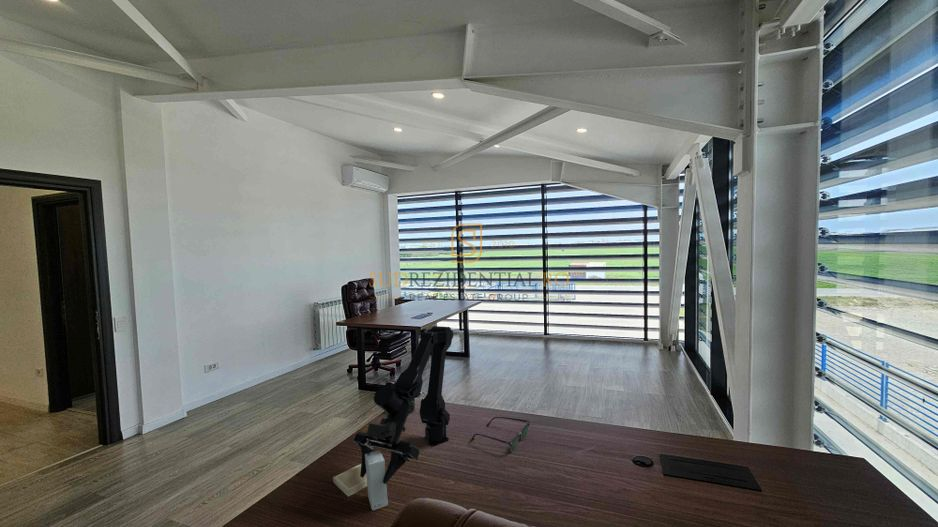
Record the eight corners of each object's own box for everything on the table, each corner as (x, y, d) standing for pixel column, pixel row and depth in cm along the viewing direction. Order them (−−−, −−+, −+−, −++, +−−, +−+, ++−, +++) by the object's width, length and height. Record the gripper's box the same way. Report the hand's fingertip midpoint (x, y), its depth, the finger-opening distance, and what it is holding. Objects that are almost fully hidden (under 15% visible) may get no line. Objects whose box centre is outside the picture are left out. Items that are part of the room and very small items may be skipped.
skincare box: (388, 505, 93) (386, 460, 93) (371, 511, 91) (368, 465, 91) (383, 491, 98) (381, 448, 98) (366, 497, 97) (364, 453, 96)
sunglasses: (489, 423, 136) (489, 410, 136) (531, 434, 127) (531, 420, 127) (466, 444, 122) (466, 430, 122) (511, 458, 113) (511, 442, 113)
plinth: (361, 468, 110) (361, 463, 110) (377, 480, 103) (377, 475, 103) (333, 482, 103) (333, 477, 103) (348, 496, 97) (347, 491, 97)
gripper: (355, 403, 101) (327, 463, 92) (411, 413, 94) (387, 480, 84) (374, 418, 109) (351, 475, 99) (428, 429, 101) (407, 491, 92)
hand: (372, 480), depth 93 cm, fingers closed on skincare box, 7 cm apart
